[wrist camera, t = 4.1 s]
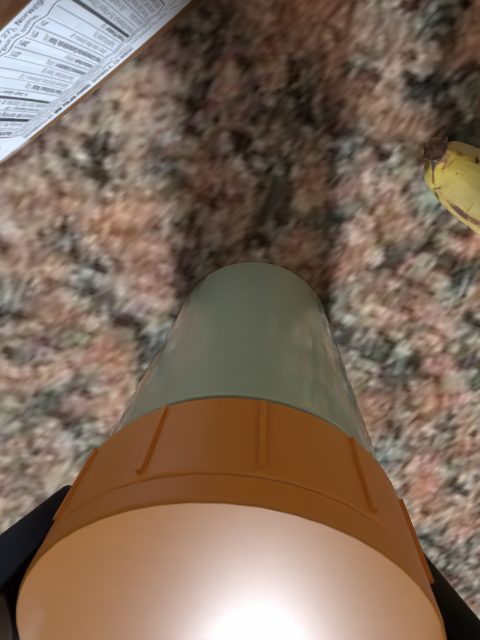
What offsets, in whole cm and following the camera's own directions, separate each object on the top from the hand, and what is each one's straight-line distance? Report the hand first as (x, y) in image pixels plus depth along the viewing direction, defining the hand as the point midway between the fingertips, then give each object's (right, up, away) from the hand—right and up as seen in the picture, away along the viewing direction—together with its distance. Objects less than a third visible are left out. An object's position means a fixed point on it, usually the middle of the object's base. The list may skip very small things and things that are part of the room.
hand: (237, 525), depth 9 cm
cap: (0, -1, -2) cm, 2 cm away
